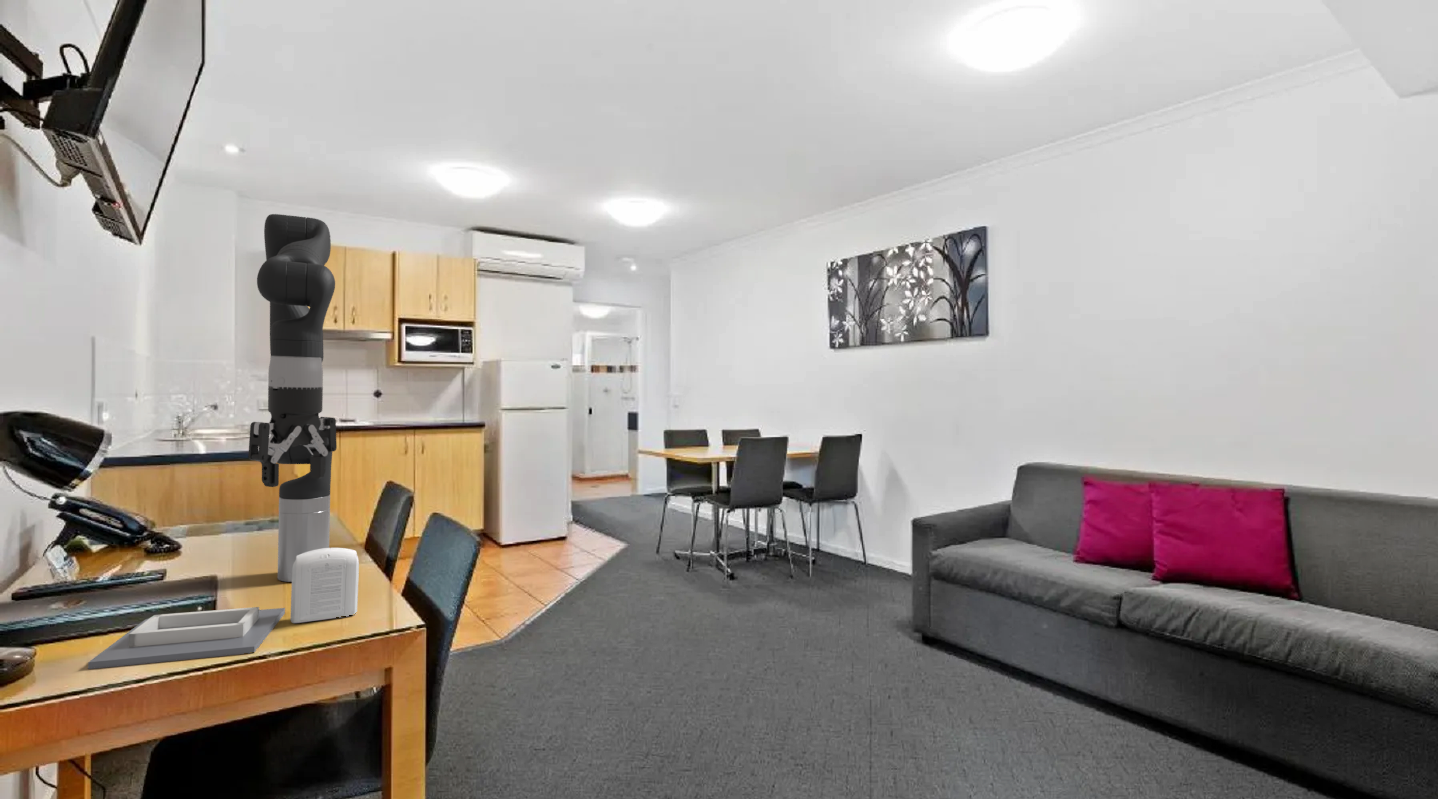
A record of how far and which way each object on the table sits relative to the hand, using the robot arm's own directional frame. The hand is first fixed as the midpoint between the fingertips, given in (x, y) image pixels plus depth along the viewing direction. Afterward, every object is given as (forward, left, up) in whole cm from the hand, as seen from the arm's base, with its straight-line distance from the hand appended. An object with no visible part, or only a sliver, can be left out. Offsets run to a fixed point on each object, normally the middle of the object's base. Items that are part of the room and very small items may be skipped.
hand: (294, 482), depth 107 cm
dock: (-2, -13, -25) cm, 29 cm away
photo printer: (-7, +4, -26) cm, 27 cm away
